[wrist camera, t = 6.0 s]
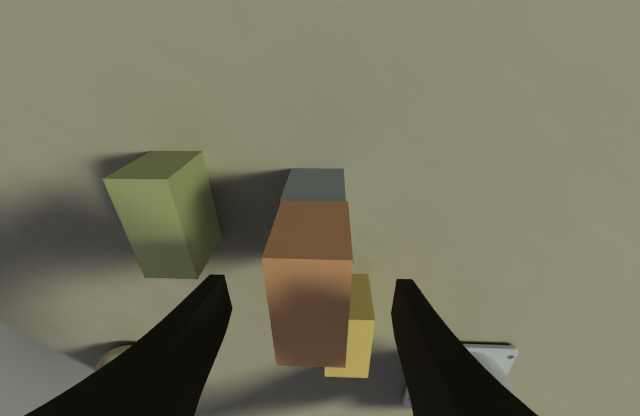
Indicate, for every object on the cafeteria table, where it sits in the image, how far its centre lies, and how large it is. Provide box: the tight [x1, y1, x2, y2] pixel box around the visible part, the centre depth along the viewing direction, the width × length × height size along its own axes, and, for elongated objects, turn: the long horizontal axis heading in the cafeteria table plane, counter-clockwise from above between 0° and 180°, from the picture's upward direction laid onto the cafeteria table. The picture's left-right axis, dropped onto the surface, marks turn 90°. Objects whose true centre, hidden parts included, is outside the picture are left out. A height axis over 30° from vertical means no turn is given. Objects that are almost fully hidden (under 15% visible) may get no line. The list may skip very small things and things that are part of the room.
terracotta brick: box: [262, 200, 353, 368], centre depth 12 cm, size 6×3×4 cm, turn 0°
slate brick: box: [280, 168, 346, 203], centre depth 16 cm, size 6×3×4 cm, turn 1°
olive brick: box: [103, 151, 222, 279], centre depth 16 cm, size 6×3×4 cm, turn 1°
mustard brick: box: [325, 274, 375, 378], centre depth 20 cm, size 6×3×4 cm, turn 1°
